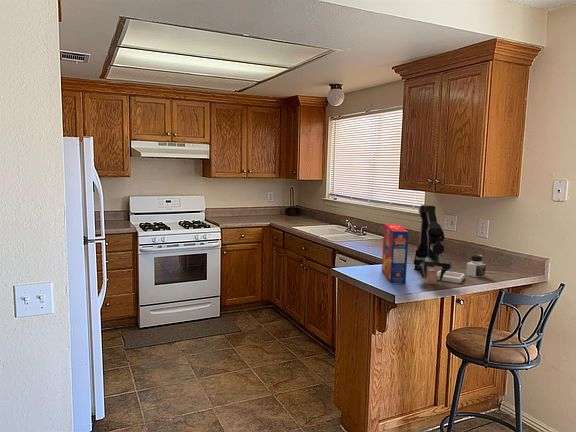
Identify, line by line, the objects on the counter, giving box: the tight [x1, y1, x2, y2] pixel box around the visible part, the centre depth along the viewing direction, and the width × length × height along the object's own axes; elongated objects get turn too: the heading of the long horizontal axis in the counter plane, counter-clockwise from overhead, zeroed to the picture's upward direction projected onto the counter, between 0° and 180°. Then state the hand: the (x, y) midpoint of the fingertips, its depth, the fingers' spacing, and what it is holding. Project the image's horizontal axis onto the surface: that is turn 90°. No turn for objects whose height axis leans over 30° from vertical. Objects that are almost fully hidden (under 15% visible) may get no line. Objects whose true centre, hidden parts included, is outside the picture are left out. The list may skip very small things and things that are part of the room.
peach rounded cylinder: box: [426, 268, 438, 285], centre depth 235 cm, size 5×5×7 cm
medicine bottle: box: [465, 254, 487, 278], centre depth 253 cm, size 7×7×12 cm
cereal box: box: [381, 223, 410, 285], centre depth 244 cm, size 28×8×28 cm, turn 177°
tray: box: [437, 269, 466, 284], centre depth 245 cm, size 14×14×2 cm
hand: (431, 279), depth 235 cm, fingers open, 9 cm apart
